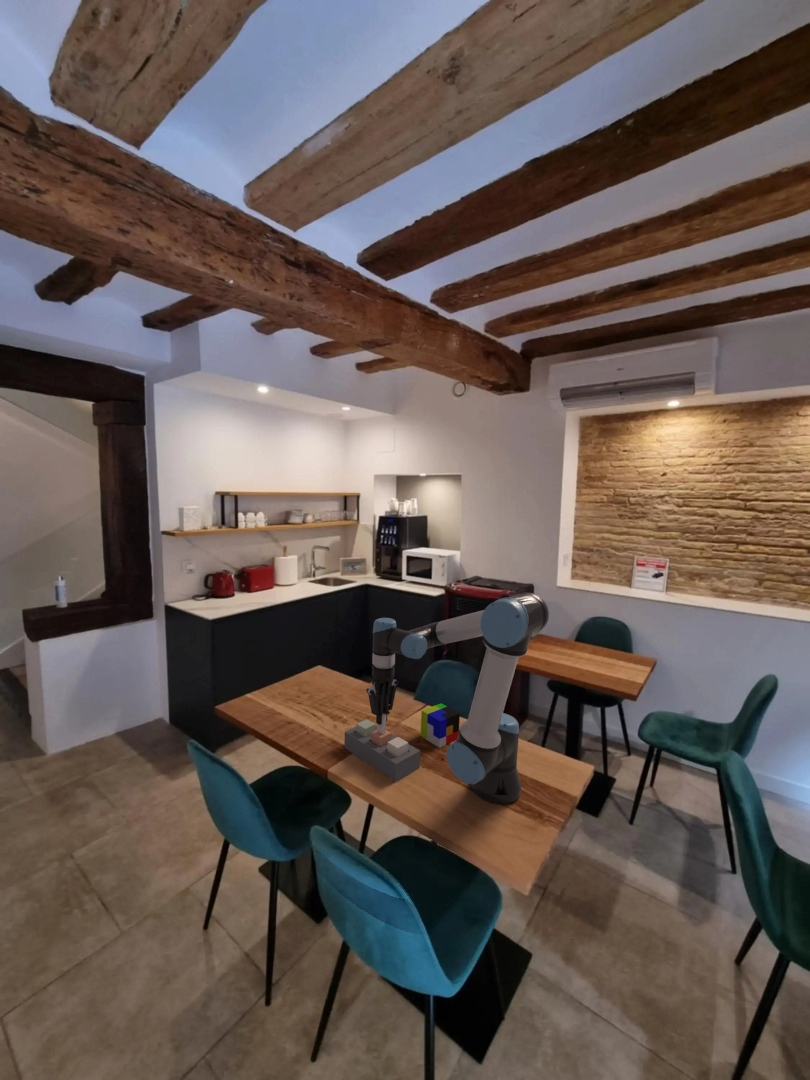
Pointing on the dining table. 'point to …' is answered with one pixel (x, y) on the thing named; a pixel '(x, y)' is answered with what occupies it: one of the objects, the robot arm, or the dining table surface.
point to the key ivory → (397, 747)
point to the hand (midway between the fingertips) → (381, 731)
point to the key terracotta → (380, 738)
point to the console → (382, 756)
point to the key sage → (365, 728)
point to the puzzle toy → (440, 725)
